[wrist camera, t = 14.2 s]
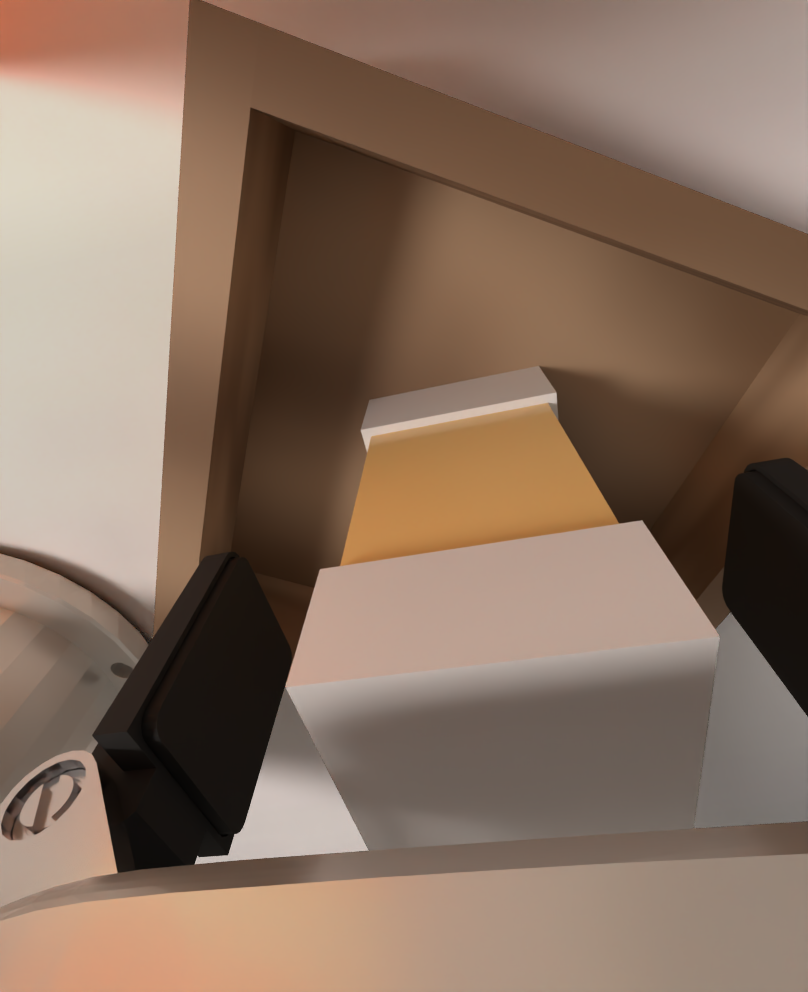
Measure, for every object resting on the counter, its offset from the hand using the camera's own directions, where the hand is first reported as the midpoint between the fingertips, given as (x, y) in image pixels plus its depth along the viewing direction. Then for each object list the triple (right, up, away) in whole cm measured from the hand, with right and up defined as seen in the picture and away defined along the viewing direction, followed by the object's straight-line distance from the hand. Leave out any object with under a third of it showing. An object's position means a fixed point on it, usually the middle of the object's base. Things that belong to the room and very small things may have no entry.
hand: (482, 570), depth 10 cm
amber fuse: (0, +3, +4) cm, 5 cm away
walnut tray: (0, +3, +5) cm, 6 cm away
